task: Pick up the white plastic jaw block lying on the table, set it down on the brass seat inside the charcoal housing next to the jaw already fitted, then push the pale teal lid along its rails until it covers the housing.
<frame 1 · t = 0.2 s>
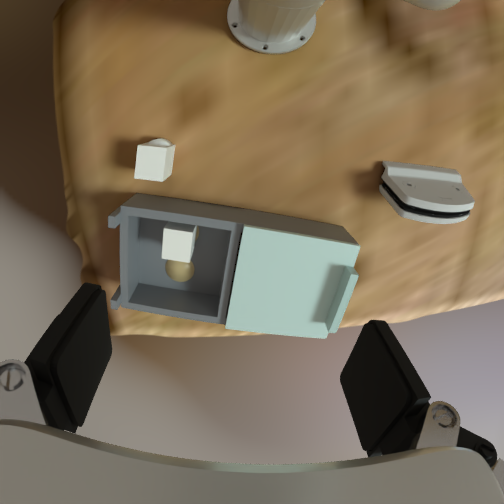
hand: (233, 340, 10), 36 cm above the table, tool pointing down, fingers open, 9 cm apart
lid: (291, 293, 42), point 9 cm above the table, slide at 16.5 cm
housing: (182, 249, 48), on the table
jaw a: (183, 231, 45), resting on housing
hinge: (419, 186, 45), on the table
jaw b: (160, 158, 42), on the table
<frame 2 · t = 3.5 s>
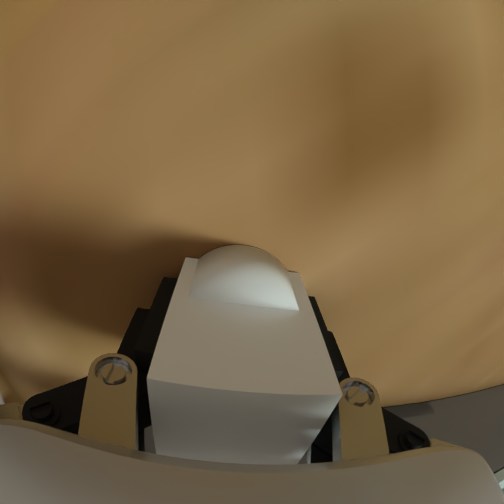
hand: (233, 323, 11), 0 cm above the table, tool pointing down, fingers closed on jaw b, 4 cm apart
housing: (277, 471, 17), on the table
jaw b: (233, 317, 11), on the table, touching gripper
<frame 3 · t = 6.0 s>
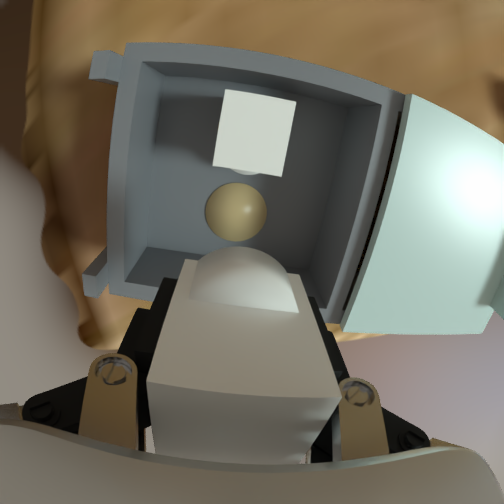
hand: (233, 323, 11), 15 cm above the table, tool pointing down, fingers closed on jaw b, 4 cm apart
lid: (474, 248, 17), point 9 cm above the table, slide at 16.5 cm
housing: (242, 173, 23), on the table
jaw a: (250, 130, 21), resting on housing
jaw b: (233, 319, 11), point 15 cm above the table, touching gripper
when the fingers open (3 cm above the table, at t = 8.5 s): jaw b drops 1 cm, resting on housing.
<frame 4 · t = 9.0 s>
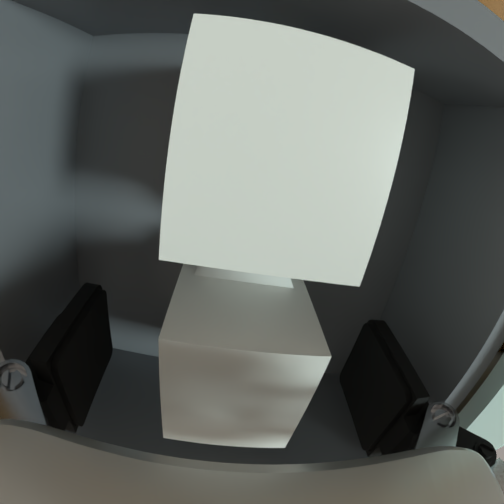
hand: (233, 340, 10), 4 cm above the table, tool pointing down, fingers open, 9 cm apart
housing: (245, 223, 12), on the table
jaw a: (263, 138, 10), resting on housing
jaw b: (234, 300, 12), point 1 cm above the table, touching housing
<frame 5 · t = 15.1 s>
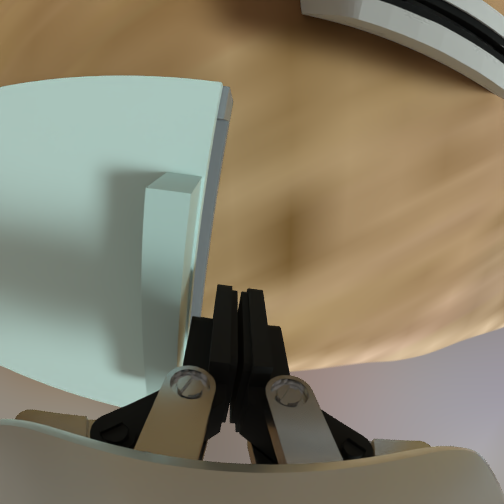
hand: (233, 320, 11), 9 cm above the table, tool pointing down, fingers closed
lid: (13, 279, 10), point 9 cm above the table, slide at 16.3 cm, touching gripper
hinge: (416, 38, 14), on the table
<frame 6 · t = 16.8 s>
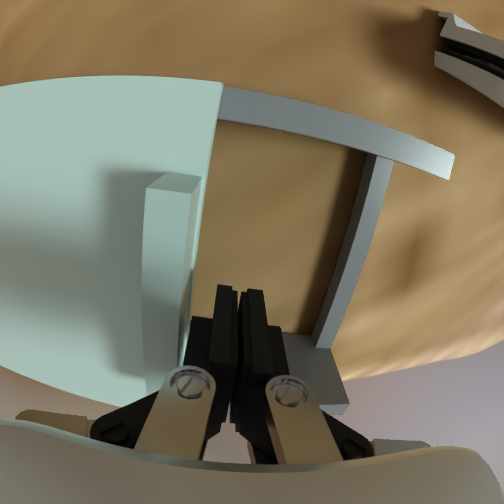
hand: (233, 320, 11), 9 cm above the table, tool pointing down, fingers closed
lid: (13, 279, 10), point 9 cm above the table, slide at 6.5 cm, touching gripper
housing: (21, 206, 17), on the table
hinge: (502, 96, 15), on the table
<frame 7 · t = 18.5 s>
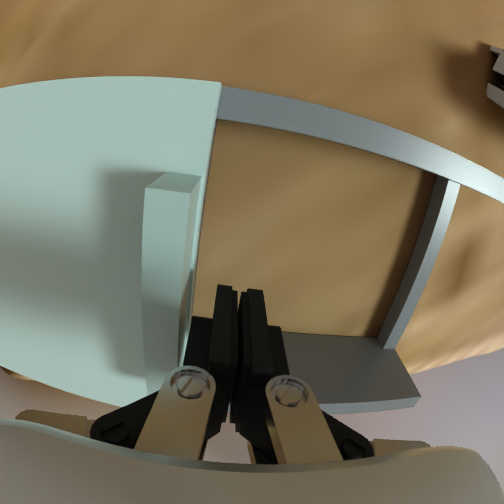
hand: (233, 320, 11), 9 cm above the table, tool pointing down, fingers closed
lid: (14, 280, 10), point 9 cm above the table, slide at 0.5 cm, touching gripper
housing: (84, 215, 18), on the table
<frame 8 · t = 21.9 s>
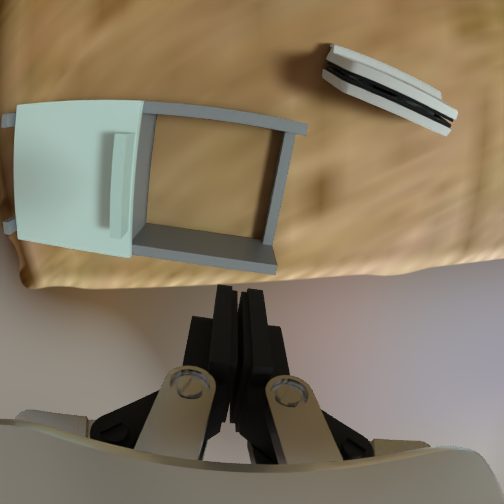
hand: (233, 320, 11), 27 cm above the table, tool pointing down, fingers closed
lid: (60, 178, 26), point 9 cm above the table, slide at 0.5 cm
housing: (92, 165, 34), on the table
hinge: (381, 90, 32), on the table
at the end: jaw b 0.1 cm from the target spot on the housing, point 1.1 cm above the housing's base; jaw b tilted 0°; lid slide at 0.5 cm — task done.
